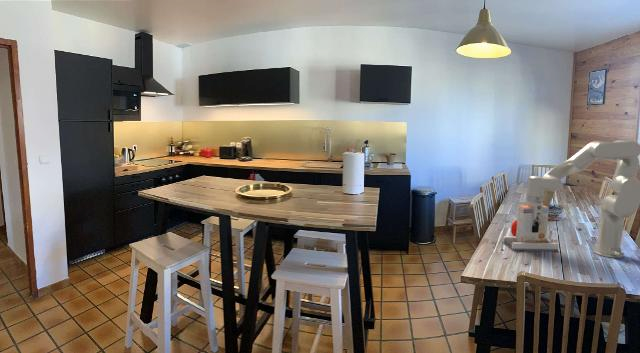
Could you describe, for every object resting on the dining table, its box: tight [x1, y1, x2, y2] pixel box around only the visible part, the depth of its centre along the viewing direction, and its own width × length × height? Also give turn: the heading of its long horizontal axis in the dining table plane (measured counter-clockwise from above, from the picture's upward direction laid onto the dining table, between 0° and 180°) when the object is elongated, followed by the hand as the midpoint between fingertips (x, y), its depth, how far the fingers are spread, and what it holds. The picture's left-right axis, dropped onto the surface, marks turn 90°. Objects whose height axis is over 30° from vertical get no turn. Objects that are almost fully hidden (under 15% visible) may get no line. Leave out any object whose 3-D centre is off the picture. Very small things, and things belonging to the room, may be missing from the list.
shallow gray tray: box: [502, 235, 559, 252], centre depth 198 cm, size 12×24×4 cm, turn 89°
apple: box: [510, 219, 517, 237], centre depth 209 cm, size 10×10×12 cm
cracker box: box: [516, 204, 550, 243], centre depth 196 cm, size 14×6×21 cm, turn 92°
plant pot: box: [542, 190, 555, 207], centre depth 286 cm, size 15×15×16 cm
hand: (531, 230), depth 197 cm, fingers closed on cracker box, 6 cm apart
